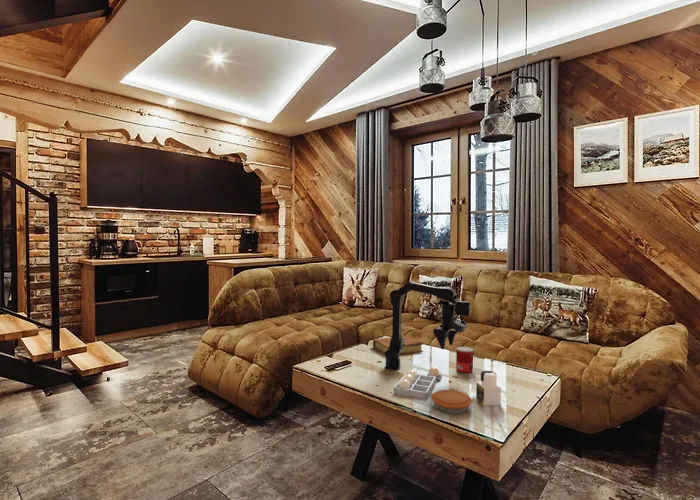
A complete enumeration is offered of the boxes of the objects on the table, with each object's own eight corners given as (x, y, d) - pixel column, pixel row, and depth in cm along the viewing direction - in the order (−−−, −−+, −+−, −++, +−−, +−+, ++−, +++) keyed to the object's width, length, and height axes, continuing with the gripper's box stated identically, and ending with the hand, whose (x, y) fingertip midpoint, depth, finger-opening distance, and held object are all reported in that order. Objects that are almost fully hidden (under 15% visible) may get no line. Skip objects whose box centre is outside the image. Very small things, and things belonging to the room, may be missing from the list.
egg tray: (393, 393, 164) (393, 387, 164) (406, 378, 183) (406, 372, 183) (426, 399, 159) (426, 392, 159) (435, 382, 178) (436, 376, 178)
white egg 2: (401, 386, 171) (401, 375, 171) (404, 382, 175) (404, 372, 175) (412, 388, 169) (412, 377, 169) (415, 384, 173) (415, 373, 173)
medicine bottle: (475, 398, 160) (476, 369, 160) (492, 398, 160) (493, 369, 160) (483, 405, 153) (483, 375, 152) (501, 405, 153) (501, 375, 153)
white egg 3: (397, 392, 165) (397, 380, 165) (400, 388, 169) (400, 377, 169) (408, 393, 163) (408, 382, 163) (411, 389, 167) (411, 378, 167)
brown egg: (427, 378, 181) (427, 368, 181) (429, 375, 186) (429, 365, 186) (438, 379, 180) (438, 369, 180) (439, 376, 184) (439, 366, 184)
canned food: (473, 374, 189) (474, 351, 189) (456, 372, 191) (457, 350, 191) (472, 368, 197) (472, 347, 197) (455, 367, 198) (456, 346, 198)
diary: (406, 344, 244) (406, 335, 244) (422, 352, 227) (423, 342, 227) (372, 348, 235) (373, 338, 235) (387, 356, 218) (387, 346, 218)
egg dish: (425, 379, 181) (425, 377, 181) (428, 375, 187) (428, 373, 187) (439, 381, 179) (439, 379, 179) (441, 377, 185) (441, 375, 184)
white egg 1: (405, 381, 177) (405, 371, 177) (408, 378, 181) (408, 367, 181) (415, 383, 175) (416, 372, 175) (418, 379, 180) (418, 369, 179)
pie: (437, 396, 162) (437, 384, 162) (476, 404, 154) (476, 392, 154) (424, 410, 149) (424, 397, 149) (466, 420, 141) (466, 406, 141)
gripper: (456, 319, 173) (455, 354, 174) (471, 313, 188) (470, 346, 188) (432, 316, 180) (432, 350, 180) (449, 310, 195) (449, 342, 195)
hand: (446, 347), depth 186 cm, fingers open, 9 cm apart
